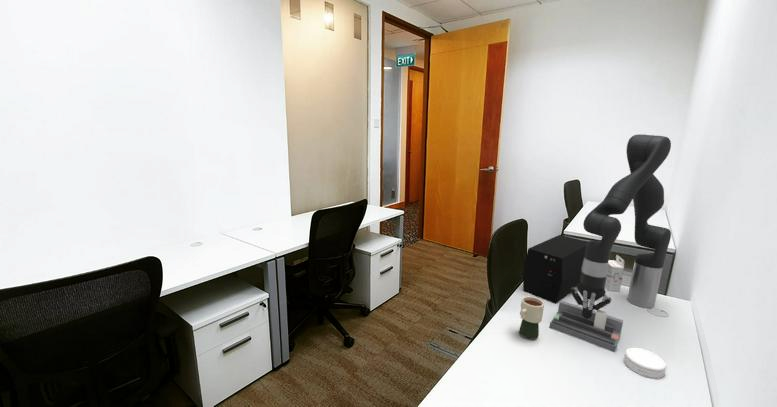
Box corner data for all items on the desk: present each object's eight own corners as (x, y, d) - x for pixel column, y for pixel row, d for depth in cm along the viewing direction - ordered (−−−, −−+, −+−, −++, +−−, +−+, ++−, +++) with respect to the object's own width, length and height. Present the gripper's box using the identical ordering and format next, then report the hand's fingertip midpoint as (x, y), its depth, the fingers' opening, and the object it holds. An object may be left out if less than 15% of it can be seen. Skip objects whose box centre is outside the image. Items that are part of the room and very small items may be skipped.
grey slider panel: (558, 314, 130) (560, 300, 129) (620, 335, 117) (623, 320, 116) (549, 327, 121) (551, 312, 120) (614, 352, 108) (618, 335, 107)
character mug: (528, 325, 122) (533, 292, 119) (547, 335, 116) (552, 301, 113) (509, 334, 116) (513, 300, 113) (527, 346, 110) (532, 310, 107)
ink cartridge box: (600, 282, 159) (605, 253, 155) (611, 283, 158) (617, 254, 154) (607, 290, 150) (613, 260, 147) (620, 292, 149) (626, 261, 146)
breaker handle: (594, 326, 118) (597, 308, 116) (604, 330, 116) (607, 312, 115) (592, 330, 116) (596, 312, 114) (602, 334, 114) (606, 315, 112)
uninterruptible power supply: (587, 283, 158) (594, 242, 153) (556, 306, 136) (563, 260, 132) (552, 271, 170) (557, 233, 165) (518, 291, 148) (523, 248, 144)
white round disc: (647, 356, 107) (649, 346, 106) (673, 379, 97) (675, 369, 96) (616, 356, 107) (617, 346, 106) (639, 379, 97) (641, 368, 96)
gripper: (618, 274, 113) (610, 320, 117) (575, 263, 121) (568, 306, 125) (615, 281, 107) (606, 329, 111) (569, 269, 116) (562, 314, 120)
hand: (586, 317), depth 118 cm, fingers closed
